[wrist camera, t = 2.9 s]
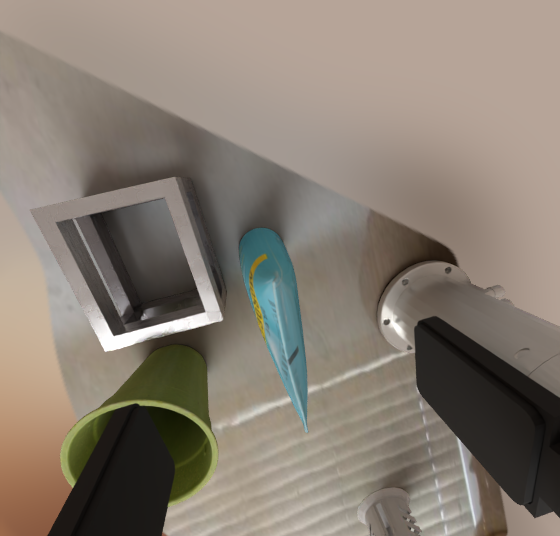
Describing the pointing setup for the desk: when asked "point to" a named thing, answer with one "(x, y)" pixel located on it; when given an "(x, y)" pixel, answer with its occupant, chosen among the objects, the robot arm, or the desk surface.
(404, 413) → the desk surface
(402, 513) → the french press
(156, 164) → the desk surface
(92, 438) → the plant pot
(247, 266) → the tube
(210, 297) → the square metal frame
